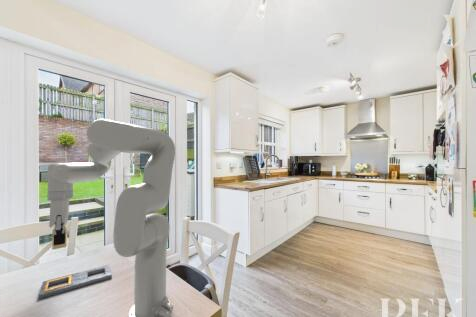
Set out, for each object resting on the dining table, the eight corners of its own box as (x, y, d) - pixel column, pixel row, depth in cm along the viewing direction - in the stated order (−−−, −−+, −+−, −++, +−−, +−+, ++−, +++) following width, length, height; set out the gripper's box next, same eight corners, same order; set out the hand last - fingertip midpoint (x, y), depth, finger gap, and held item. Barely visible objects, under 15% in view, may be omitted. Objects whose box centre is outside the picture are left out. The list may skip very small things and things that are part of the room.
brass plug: (67, 243, 82) (67, 226, 82) (66, 246, 79) (66, 228, 79) (53, 245, 80) (53, 227, 80) (52, 249, 77) (52, 230, 77)
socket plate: (109, 267, 93) (109, 264, 93) (111, 278, 85) (111, 274, 85) (43, 285, 80) (43, 281, 80) (38, 299, 72) (38, 294, 72)
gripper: (50, 192, 84) (49, 237, 84) (43, 199, 71) (43, 252, 71) (74, 191, 89) (73, 233, 88) (71, 197, 75) (71, 247, 75)
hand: (60, 241), depth 79 cm, fingers closed on brass plug, 4 cm apart
